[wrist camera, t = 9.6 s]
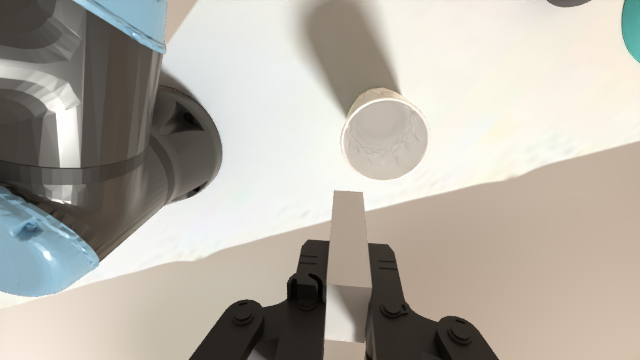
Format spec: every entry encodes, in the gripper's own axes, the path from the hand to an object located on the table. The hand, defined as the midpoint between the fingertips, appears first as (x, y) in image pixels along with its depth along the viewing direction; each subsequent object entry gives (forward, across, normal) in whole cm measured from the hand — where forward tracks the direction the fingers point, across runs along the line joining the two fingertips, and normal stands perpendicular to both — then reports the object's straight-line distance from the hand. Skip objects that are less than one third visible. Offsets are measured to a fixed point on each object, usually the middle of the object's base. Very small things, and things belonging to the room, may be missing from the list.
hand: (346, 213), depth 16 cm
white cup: (+23, +4, 0) cm, 23 cm away
